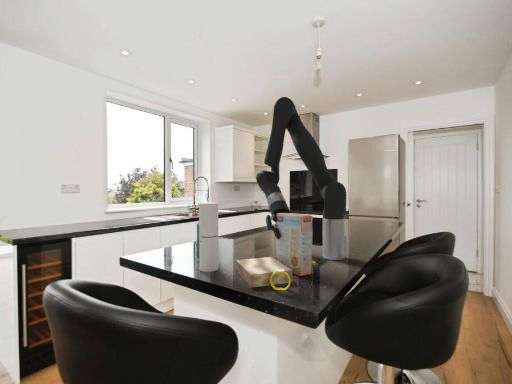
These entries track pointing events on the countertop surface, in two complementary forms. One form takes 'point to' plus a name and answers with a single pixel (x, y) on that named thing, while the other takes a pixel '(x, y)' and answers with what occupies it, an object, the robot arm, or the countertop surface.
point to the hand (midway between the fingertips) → (289, 237)
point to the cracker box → (295, 242)
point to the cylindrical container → (208, 237)
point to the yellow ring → (280, 271)
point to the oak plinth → (262, 271)
